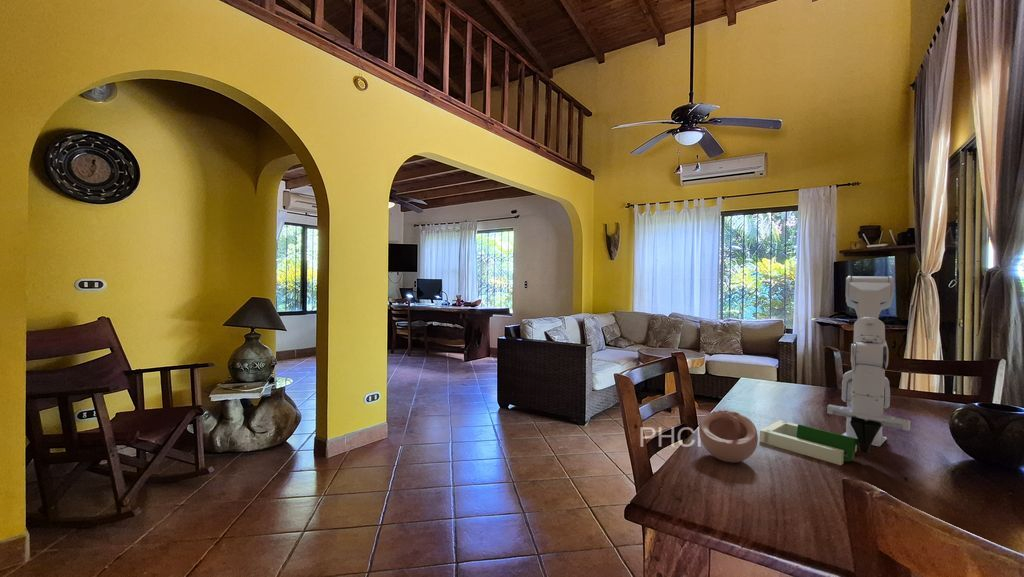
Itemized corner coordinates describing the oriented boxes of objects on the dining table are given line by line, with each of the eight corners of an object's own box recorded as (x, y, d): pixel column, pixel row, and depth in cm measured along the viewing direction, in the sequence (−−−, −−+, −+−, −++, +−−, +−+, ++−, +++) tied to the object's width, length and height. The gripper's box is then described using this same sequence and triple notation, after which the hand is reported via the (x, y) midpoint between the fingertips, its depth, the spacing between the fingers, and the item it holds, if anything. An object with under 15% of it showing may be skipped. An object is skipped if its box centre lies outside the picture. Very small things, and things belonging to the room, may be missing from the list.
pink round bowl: (693, 461, 94) (695, 411, 94) (703, 445, 104) (704, 400, 103) (754, 477, 87) (756, 423, 87) (758, 458, 97) (760, 409, 97)
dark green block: (846, 475, 99) (869, 444, 97) (838, 475, 95) (862, 443, 93) (795, 440, 108) (815, 412, 106) (787, 439, 105) (807, 410, 103)
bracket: (779, 430, 116) (779, 420, 116) (856, 450, 103) (857, 439, 103) (759, 441, 107) (759, 430, 107) (841, 465, 94) (841, 452, 94)
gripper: (824, 389, 99) (822, 445, 99) (907, 404, 88) (904, 467, 88) (832, 385, 103) (830, 439, 104) (912, 399, 92) (910, 459, 92)
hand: (865, 451), depth 96 cm, fingers closed
